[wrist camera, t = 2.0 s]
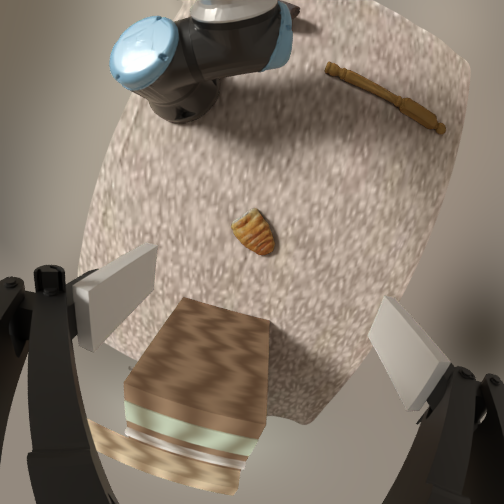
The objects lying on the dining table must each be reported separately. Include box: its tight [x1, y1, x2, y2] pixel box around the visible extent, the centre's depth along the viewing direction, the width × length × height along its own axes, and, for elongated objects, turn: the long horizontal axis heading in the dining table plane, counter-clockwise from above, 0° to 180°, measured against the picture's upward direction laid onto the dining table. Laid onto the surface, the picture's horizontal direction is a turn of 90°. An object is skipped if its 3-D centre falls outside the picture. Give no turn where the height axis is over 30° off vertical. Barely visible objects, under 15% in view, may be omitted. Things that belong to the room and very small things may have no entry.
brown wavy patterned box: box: [124, 297, 270, 471], centre depth 48 cm, size 20×24×31 cm
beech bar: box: [87, 419, 240, 496], centre depth 34 cm, size 32×4×4 cm, turn 75°
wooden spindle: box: [324, 62, 446, 134], centre depth 44 cm, size 3×3×30 cm
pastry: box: [231, 208, 275, 255], centre depth 53 cm, size 9×7×4 cm
